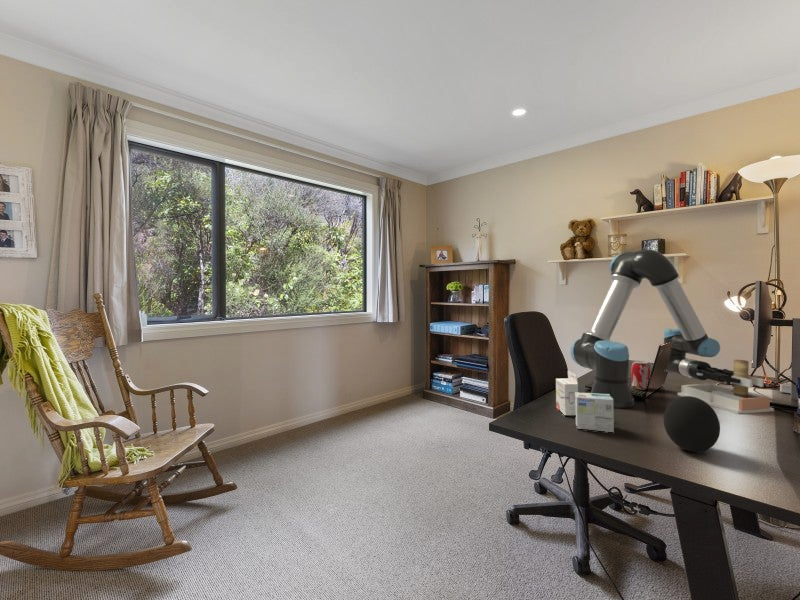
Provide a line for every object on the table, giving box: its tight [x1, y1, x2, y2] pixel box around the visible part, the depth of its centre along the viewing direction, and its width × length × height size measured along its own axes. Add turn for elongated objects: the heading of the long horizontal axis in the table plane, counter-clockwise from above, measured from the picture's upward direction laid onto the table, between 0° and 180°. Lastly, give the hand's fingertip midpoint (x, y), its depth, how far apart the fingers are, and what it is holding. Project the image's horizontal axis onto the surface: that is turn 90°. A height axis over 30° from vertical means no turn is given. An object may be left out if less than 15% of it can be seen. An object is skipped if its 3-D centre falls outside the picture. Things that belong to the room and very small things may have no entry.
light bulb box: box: [575, 391, 615, 434], centre depth 122 cm, size 11×7×11 cm, turn 71°
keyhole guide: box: [677, 383, 775, 415], centre depth 145 cm, size 15×24×5 cm, turn 8°
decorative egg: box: [663, 396, 721, 453], centre depth 104 cm, size 12×12×15 cm
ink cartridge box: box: [555, 370, 579, 416], centre depth 137 cm, size 9×5×15 cm, turn 179°
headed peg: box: [733, 359, 750, 398], centre depth 138 cm, size 8×8×16 cm
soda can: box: [630, 360, 651, 388], centre depth 165 cm, size 7×7×12 cm
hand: (756, 383), depth 133 cm, fingers closed on headed peg, 4 cm apart
